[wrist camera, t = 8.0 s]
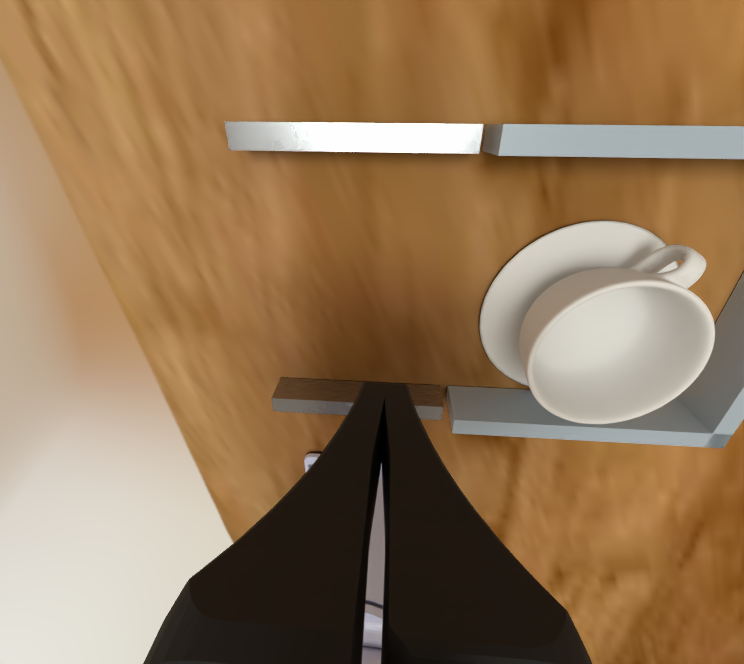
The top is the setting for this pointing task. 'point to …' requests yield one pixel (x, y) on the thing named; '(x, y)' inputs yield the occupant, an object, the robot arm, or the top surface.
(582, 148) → the blue-gray u-shaped frame
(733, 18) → the top surface
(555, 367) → the teacup
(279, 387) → the slot rails
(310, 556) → the robot arm
